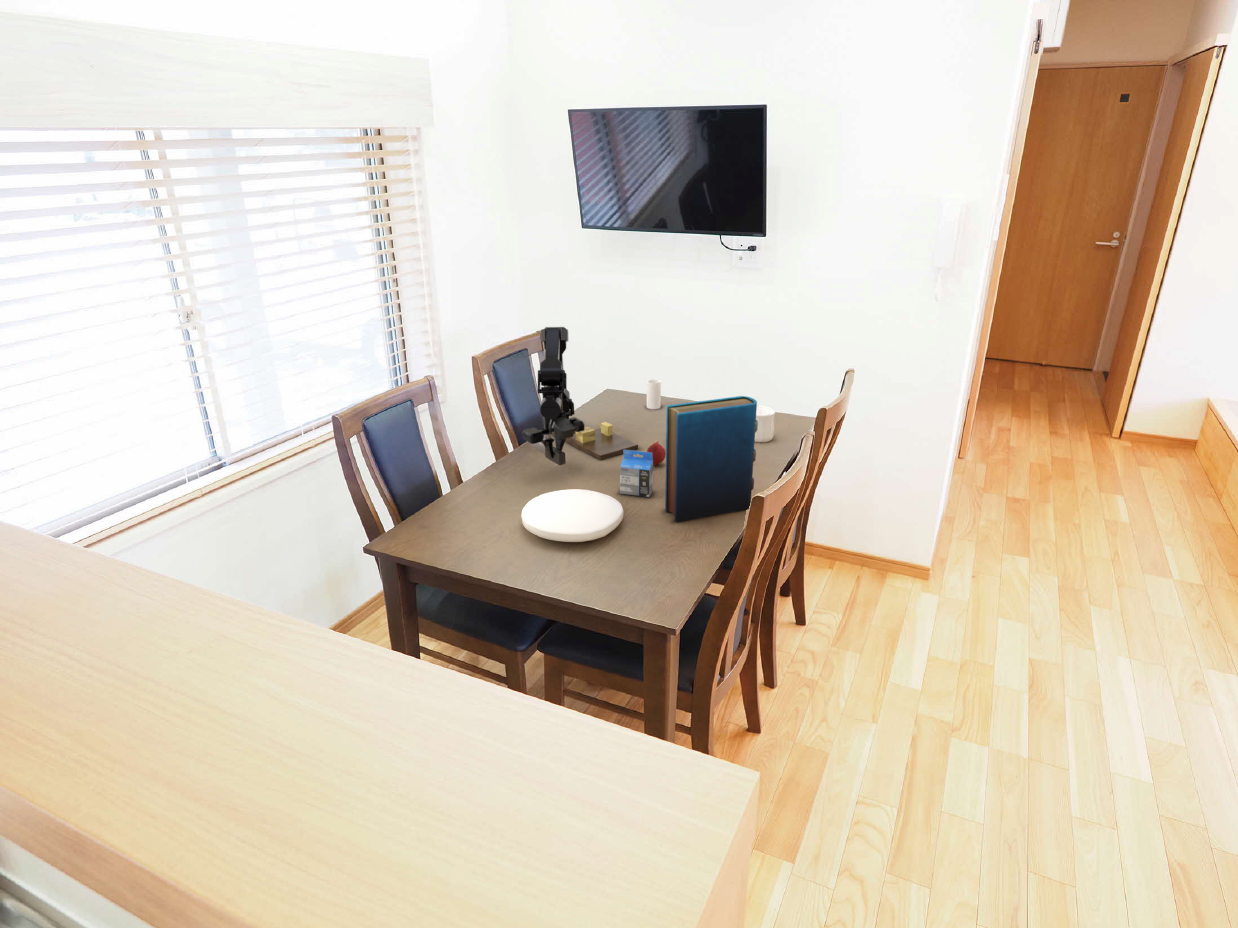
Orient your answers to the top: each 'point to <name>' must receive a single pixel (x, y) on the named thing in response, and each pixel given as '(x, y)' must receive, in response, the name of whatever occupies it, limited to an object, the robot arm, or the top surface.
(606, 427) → the butter slice
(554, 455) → the butter knife
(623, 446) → the cutting board
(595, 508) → the white round disc
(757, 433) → the cup
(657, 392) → the cup
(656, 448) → the onion
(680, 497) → the book
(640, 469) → the label tape box
